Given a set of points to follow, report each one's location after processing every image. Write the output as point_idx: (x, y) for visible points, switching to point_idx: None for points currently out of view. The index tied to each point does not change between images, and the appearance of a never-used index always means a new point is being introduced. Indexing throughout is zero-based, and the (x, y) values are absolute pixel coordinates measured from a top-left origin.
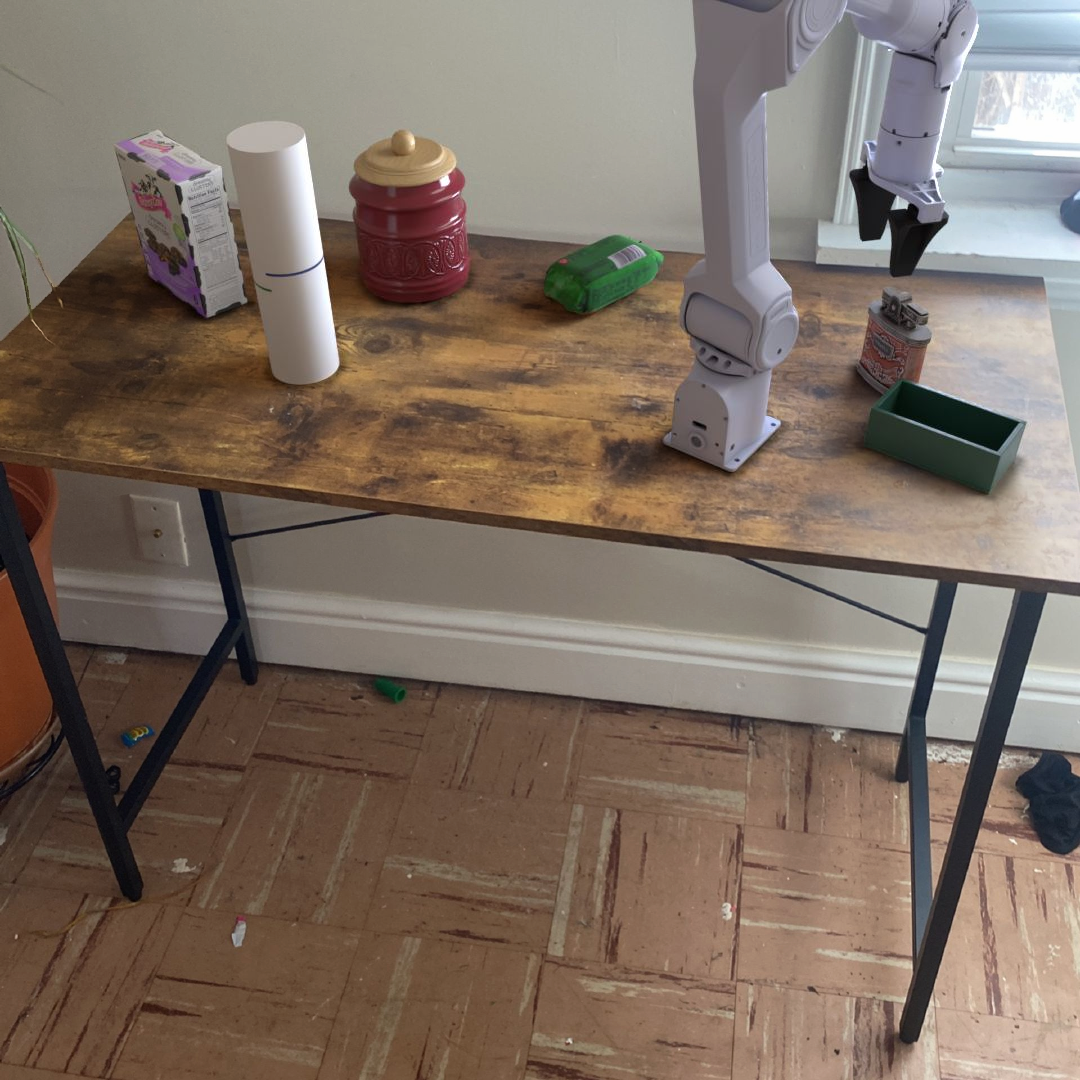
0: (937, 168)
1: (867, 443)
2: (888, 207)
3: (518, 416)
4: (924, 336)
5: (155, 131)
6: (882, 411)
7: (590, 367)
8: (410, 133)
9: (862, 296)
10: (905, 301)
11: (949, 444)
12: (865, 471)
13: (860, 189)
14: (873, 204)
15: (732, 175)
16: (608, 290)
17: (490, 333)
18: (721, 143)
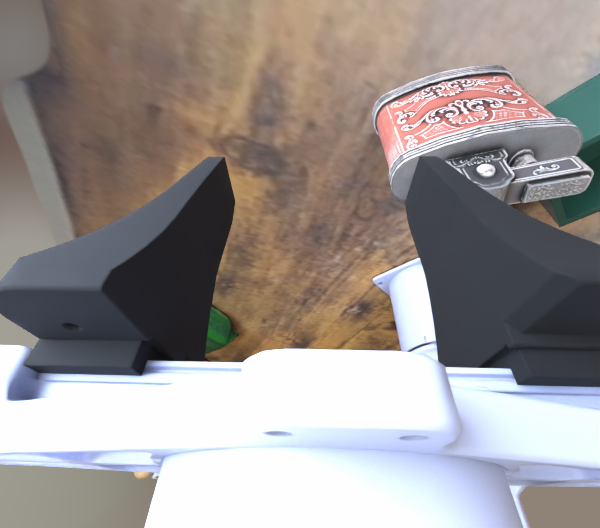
0: (386, 441)
1: None
2: (191, 212)
3: (342, 349)
4: (568, 147)
5: (154, 478)
6: (579, 217)
7: (298, 321)
8: (139, 476)
9: (144, 15)
10: (505, 196)
11: None
12: None
13: (204, 343)
14: (204, 266)
15: None
16: (214, 323)
17: (246, 347)
18: None
